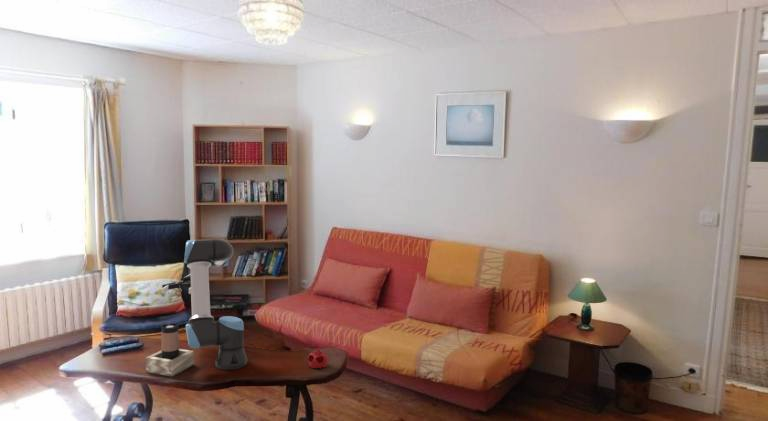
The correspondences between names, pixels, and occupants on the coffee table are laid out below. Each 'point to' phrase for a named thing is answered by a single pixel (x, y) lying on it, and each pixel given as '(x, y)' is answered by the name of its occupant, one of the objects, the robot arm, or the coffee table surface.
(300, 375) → the coffee table surface
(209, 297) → the robot arm
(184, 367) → the well
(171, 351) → the travel mug
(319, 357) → the pomegranate
